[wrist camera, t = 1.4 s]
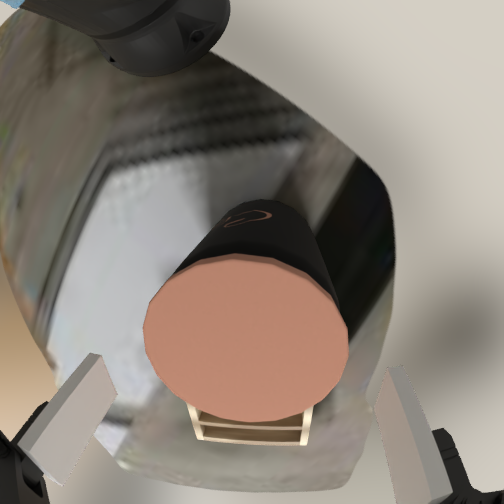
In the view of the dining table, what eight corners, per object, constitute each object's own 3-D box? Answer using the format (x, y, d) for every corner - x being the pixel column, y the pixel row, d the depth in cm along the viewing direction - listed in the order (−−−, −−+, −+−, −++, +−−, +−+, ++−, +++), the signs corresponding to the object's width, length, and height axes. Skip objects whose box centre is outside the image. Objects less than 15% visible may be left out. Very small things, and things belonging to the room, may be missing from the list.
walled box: (182, 311, 34) (169, 334, 29) (317, 313, 32) (321, 338, 28) (204, 415, 40) (197, 439, 36) (305, 420, 39) (306, 445, 34)
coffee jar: (271, 176, 28) (258, 205, 11) (334, 256, 30) (384, 370, 13) (194, 239, 31) (107, 331, 14) (256, 310, 33) (233, 440, 16)
